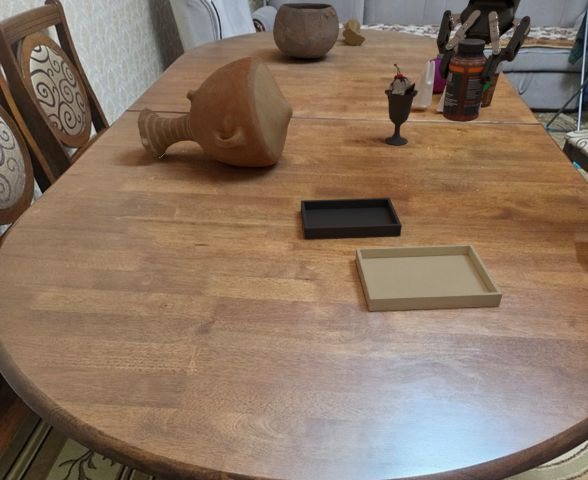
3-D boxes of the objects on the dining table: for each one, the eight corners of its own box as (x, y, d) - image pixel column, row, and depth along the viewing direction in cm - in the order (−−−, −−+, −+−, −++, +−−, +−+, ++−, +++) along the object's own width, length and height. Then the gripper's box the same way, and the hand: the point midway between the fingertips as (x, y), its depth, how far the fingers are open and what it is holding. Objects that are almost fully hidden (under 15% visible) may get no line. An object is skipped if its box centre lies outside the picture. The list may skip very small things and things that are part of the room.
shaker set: (407, 112, 133) (413, 62, 126) (408, 107, 136) (414, 58, 129) (457, 115, 131) (466, 64, 124) (457, 110, 134) (466, 60, 127)
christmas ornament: (422, 86, 151) (427, 45, 144) (452, 88, 149) (459, 47, 142) (417, 94, 145) (422, 52, 138) (448, 96, 143) (455, 54, 136)
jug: (278, 126, 90) (112, 140, 96) (300, 186, 108) (159, 194, 114) (285, 25, 94) (126, 44, 101) (305, 99, 112) (169, 111, 119)
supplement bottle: (485, 117, 91) (500, 40, 84) (465, 125, 88) (479, 46, 81) (454, 109, 94) (466, 35, 87) (434, 117, 91) (445, 41, 84)
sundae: (378, 136, 120) (385, 60, 111) (409, 136, 120) (418, 60, 111) (381, 146, 115) (388, 69, 106) (413, 146, 115) (423, 68, 106)
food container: (439, 101, 140) (446, 58, 133) (454, 96, 143) (461, 54, 136) (480, 112, 133) (489, 67, 126) (495, 107, 136) (504, 62, 129)
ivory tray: (469, 255, 81) (472, 243, 80) (499, 306, 71) (502, 294, 70) (355, 259, 80) (356, 247, 79) (369, 311, 70) (370, 299, 69)
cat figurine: (345, 27, 186) (343, 10, 192) (338, 47, 191) (336, 30, 198) (367, 34, 188) (365, 17, 194) (360, 54, 193) (357, 37, 200)
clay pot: (269, 52, 184) (267, 0, 175) (329, 49, 187) (331, -3, 178) (279, 67, 169) (278, 11, 159) (345, 64, 171) (347, 8, 162)
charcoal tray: (388, 208, 93) (389, 197, 92) (400, 236, 85) (401, 225, 84) (300, 210, 93) (300, 200, 91) (304, 239, 85) (304, 228, 84)
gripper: (455, -41, 86) (415, 59, 86) (550, -38, 79) (507, 70, 79) (461, -5, 92) (424, 87, 92) (549, 0, 86) (509, 99, 86)
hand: (462, 78), depth 86 cm, fingers closed on supplement bottle, 6 cm apart
